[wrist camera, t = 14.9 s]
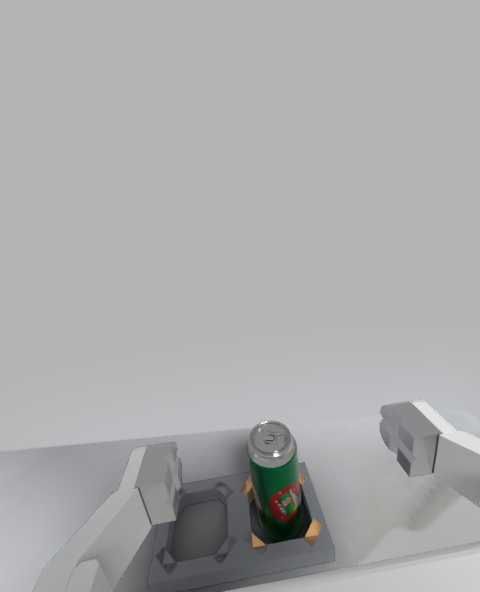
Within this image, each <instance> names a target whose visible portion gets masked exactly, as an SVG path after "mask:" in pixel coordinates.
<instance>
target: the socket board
mask: <svg viewBox="0 0 480 592" xmlns="http://www.w3.org/2000/svg"><path fill="white" fill-rule="evenodd" d="M298 469H299V480H300V491H301V495H302V497H303V500H304V503H305V507H306V510H307V513H308V517H309V520H310V523H311V525H310V527H309V529H308V531H307V533H306V536H305V537H304V538H299V539H294V540H289V541H283V542H278V543H273V544H268V545H265V544H264V543H263V542H262V541H261V540H260V539H258V538H257V537H256V536H255V535H254V534H253V532H252V523H251V514H250V503H251V502H252V500H253V499H254V492H253V486H252V480H251V474H250V472H247V473H241V474H236V475H230V476H225V477H220V478H214V479H209V480H203V481H198V482H192V483H187V484H181V487H180V488H179V490H178V491H177V493H178V497H179V505H178V512H177V516H178V515H179V514H180V513H181V512H182V511H183V509H184V508H185V507H186V506H187V505H191V504H196V503H202V502H207V501H212V500H218V499H219V500H220V501H221V502H222V503H223V504H225V505H226V506H227V526H228V537H227V539H226V540H225V542H224V543H223V545H222V546H221V548H220V549H219V550H218V552H217V553H216V555H211V556H206V557H200V558H195V559H190V560H185V561H180V562H175V561H174V559H173V558H172V557H171V548H172V540H173V533H174V526H175V521H170V522H165V523H161V524H158V529H157V534H156V539H155V544H154V550H153V555H152V560H151V565H150V571H149V576H148V581H147V586H148V589H149V591H150V592H180V591H185V590H190V589H195V588H200V587H205V586H210V585H215V584H220V583H225V582H231V581H236V580H241V579H246V578H251V577H256V576H261V575H266V574H271V573H276V572H281V571H286V570H291V569H296V568H302V567H307V566H312V565H317V564H322V563H327V562H332V561H335V549H334V545H333V542H332V540H331V537H330V534H329V531H328V528H327V525H326V522H325V520H324V517H323V514H322V511H321V508H320V505H319V502H318V499H317V497H316V494H315V491H314V488H313V485H312V482H311V479H310V477H309V474H308V471H307V468H306V465H305V462H302V463H298Z"/></svg>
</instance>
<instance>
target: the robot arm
mask: <svg viewBox="0 0 480 592" xmlns="http://www.w3.org/2000/svg"><path fill="white" fill-rule="evenodd" d="M380 414H381V415H382V417H383V419H382V421H381V422H380V433H381V436H382V439H383V441H384V443H385V444H386V446H387V447H388V448H389V450H391V451H393V452H395V453H396V454H397V461H398V462H399V464H400V465H401V466H402V468H403V469H404V470H405V472H406V473H407V474H408V476H409V477H416V476H423V475H429V474H433V475H434V476H435V477H436V478H438V479H439V480H441V481H442V482H444V483H445V484H447V485H448V486H449V487H451V488H452V489H454V490H455V491H457V492H458V493H460V494H461V495H463V496H464V497H465V498H467V499H468V500H470V501H471V502H473V503H474V504H476V505H477V506H479V507H480V439H479V438H477V437H475V436H472V435H470V434H468V433H466V432H463V431H457V430H456V429H454V428H453V427H452V426H451V425H450V424H449V423H448V422H447V421H446V420H444V419H443V418H442V417H441V416H440V415H439V414H438V413H437V412H436V411H434V410H433V409H432V408H431V407H430V406H429V405H428V404H427V403H426V402H425V401H423V400H421V399H418V400H412V401H407V402H401V403H395V404H390V405H384V406H382V407H381V411H380ZM181 482H182V466H181V460H180V457H178V456H177V446H176V443H175V442H169V443H162V444H155V445H148V446H143V447H136V448H134V449H133V451H132V452H131V455H130V458H129V461H128V463H127V466H126V469H125V472H124V474H123V477H122V480H121V483H120V486H119V488H118V491H117V492H113V493H112V494H111V495H110V496H109V497H108V499H107V500H106V501H105V502H104V503H103V504H102V505H101V506H100V507H99V508H98V509H97V510H96V511H95V513H94V514H93V515H92V516H91V517H90V518H89V519H88V520H87V521H86V522H85V523H84V524H83V526H82V527H81V528H80V529H79V530H78V531H77V532H76V533H75V534H74V535H73V536H72V537H71V539H70V540H69V541H68V542H67V543H66V544H65V545H64V546H63V547H62V548H61V549H60V550H59V552H58V553H57V554H56V555H55V556H54V557H53V558H52V559H51V560H50V561H49V562H48V563H47V565H46V566H45V567H44V568H43V570H42V572H41V574H40V576H39V578H38V581H37V583H36V585H35V587H34V589H33V591H32V592H113V590H114V589H115V587H116V585H117V584H118V582H119V580H120V579H121V577H122V575H123V574H124V572H125V571H126V569H127V567H128V566H129V564H130V562H131V561H132V559H133V557H134V556H135V554H136V552H137V551H138V549H139V547H140V546H141V544H142V543H143V541H144V539H145V538H146V536H147V534H148V533H149V531H150V529H151V528H152V526H151V525H156V524H161V523H165V522H170V521H175V520H176V519H177V512H178V505H179V497H178V493H177V491H178V490H179V488H180V487H181ZM223 592H480V541H479V542H474V543H470V544H464V545H459V546H454V547H449V548H443V549H438V550H433V551H428V552H423V553H418V554H413V555H407V556H403V557H397V558H393V559H387V560H382V561H377V562H371V563H367V564H361V565H356V566H351V567H346V568H341V569H336V570H330V571H325V572H320V573H315V574H310V575H305V576H300V577H295V578H290V579H285V580H279V581H274V582H269V583H264V584H259V585H254V586H249V587H244V588H239V589H233V590H228V591H223Z"/></svg>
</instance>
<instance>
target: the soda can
mask: <svg viewBox="0 0 480 592" xmlns="http://www.w3.org/2000/svg"><path fill="white" fill-rule="evenodd" d="M246 451H247V457H248V462H249V468H250V474H251V480H252V486H253V492H254V498H255V503H256V509H257V515H258V520H259V524H260V527H261V528H262V530H263V531H264V533H265V534H266V535H267V536H268V537H270V538H271V539H273V540H276V541H287V540H290V539H292V538H293V537H295V536H296V535H297V533H298V532H299V530H300V528H301V526H302V522H303V514H302V503H301V491H300V480H299V469H298V458H297V447H296V441H295V439H294V437H293V436H292V434H291V433H290V431H289V429H288V428H287V427H286V426H285V425H284V424H282V423H280V422H276V421H265V422H261V423H259V424H257V425H256V426H255V427H254V428H253V429H252V430H251V432H250V435H249V439H248V441H247V445H246Z"/></svg>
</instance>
